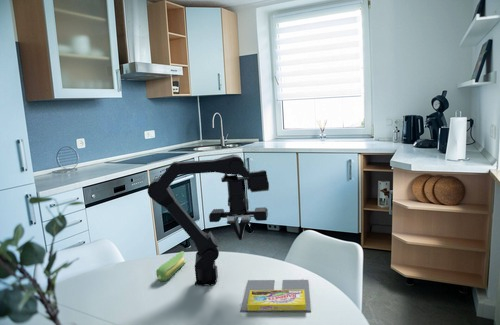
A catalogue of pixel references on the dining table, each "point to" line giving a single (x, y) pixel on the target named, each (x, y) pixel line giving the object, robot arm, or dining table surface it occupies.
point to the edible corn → (170, 267)
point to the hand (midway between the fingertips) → (240, 239)
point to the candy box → (276, 300)
